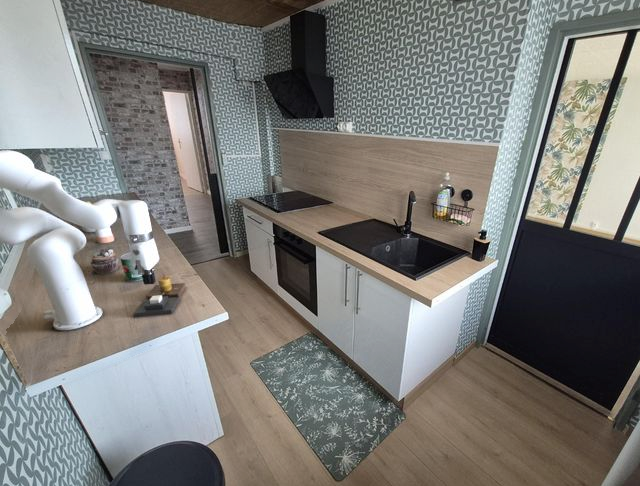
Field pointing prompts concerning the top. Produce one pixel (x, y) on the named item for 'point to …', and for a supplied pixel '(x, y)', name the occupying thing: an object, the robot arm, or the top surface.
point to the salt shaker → (104, 235)
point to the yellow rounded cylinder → (165, 283)
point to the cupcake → (104, 261)
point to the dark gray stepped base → (157, 307)
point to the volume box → (174, 292)
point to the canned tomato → (129, 269)
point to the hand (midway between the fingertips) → (150, 283)
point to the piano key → (155, 299)
